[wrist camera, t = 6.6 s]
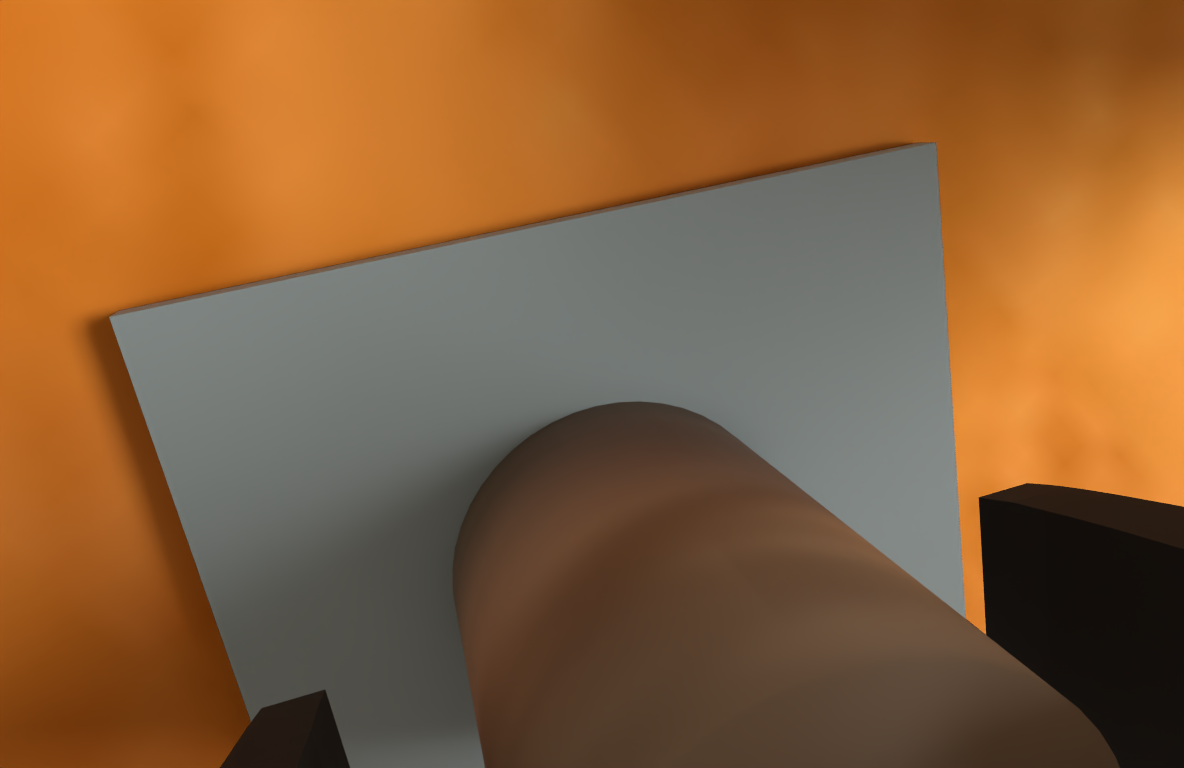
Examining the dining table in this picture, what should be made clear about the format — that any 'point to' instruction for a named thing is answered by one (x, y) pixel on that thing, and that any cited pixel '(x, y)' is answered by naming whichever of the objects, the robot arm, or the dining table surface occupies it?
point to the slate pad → (537, 411)
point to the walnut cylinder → (718, 620)
